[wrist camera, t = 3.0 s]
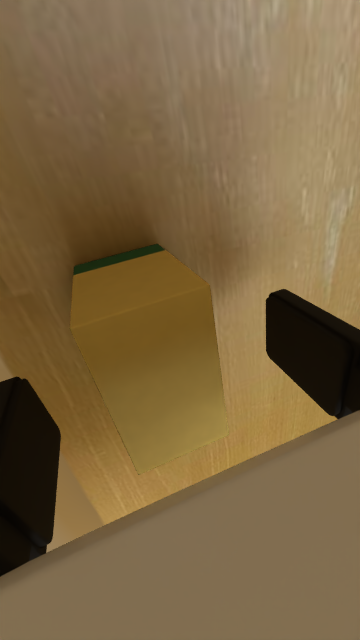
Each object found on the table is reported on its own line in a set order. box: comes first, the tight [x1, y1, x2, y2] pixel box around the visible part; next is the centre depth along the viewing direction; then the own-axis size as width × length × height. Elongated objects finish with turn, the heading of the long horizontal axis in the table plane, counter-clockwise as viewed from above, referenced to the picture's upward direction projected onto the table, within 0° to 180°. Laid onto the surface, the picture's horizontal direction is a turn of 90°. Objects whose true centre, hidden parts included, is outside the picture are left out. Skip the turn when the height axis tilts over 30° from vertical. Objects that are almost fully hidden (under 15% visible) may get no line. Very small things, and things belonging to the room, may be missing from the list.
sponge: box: [70, 244, 229, 475], centre depth 11 cm, size 4×7×6 cm, turn 10°
